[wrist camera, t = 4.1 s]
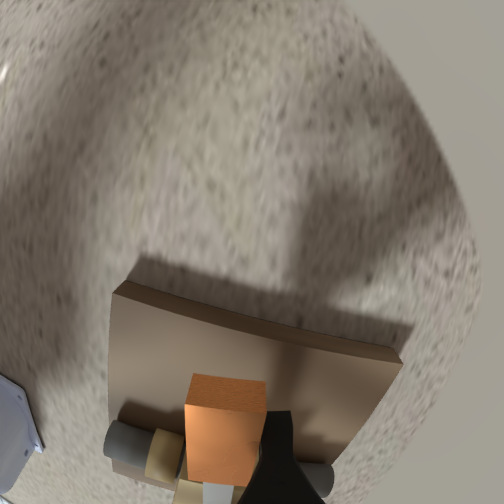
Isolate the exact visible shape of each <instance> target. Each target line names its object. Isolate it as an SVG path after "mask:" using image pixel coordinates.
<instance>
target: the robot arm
mask: <svg viewBox="0 0 504 504" xmlns="http://www.w3.org/2000/svg"><path fill="white" fill-rule="evenodd" d="M34 450H36V451H37V452H39V453H43V452H44V449H43V447H42V444H41V441H40V439H39V436H38V433H37V430H36V427H35V424H34V421H33V418H32V415H31V412H30V409H29V405H28V402H27V398H26V394H25V392H24V390H23V389H22V388H21V387H19V386H17V385H16V384H14V383H13V382H11V381H9V380H8V379H6V378H5V377H3V376H2V375H0V495H1V494H4V493H6V492H8V491H9V490H10V489H11V488H12V487H13V485H14V483H15V481H16V480H17V478H18V476H19V475H20V473H21V471H22V469H23V468H24V466H25V464H26V463H27V461H28V459H29V458H30V456H31V454H32V453H33V451H34ZM237 504H325V502H324V501H323V500H322V499H321V497H320V496H319V495H318V493H317V492H316V490H315V489H314V488H313V486H312V485H311V483H310V482H309V480H308V479H307V477H306V475H305V474H304V472H303V470H302V469H301V467H300V465H299V463H298V461H297V459H296V457H295V455H294V453H293V421H292V416H291V410H288V411H267V414H266V419H265V423H264V427H263V432H262V436H261V440H260V444H259V461H258V464H257V466H256V468H255V470H254V473H253V475H252V477H251V479H250V481H249V483H248V485H247V487H246V489H245V491H244V492H243V494H242V496H241V498H240V499H239V501H238V502H237Z"/></svg>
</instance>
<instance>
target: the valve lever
mask: <svg viewBox="0 0 504 504" xmlns="http://www.w3.org/2000/svg"><path fill="white" fill-rule="evenodd" d="M266 414H267V409H266V381H254V380H244V379H235V378H226V377H218V376H210V375H203V374H196V373H193V376H192V379H191V383H190V387H189V390H188V394H187V397H186V401H185V430H186V451H187V468H188V480H193V481H199V482H203V503H202V504H231V500H232V494H233V489H234V486H245V487H247V485H248V483H249V481H250V479H251V476H252V472H253V468H254V464H255V460H256V456H257V452H258V448H259V444H260V440H261V436H262V432H263V427H264V423H265V419H266Z"/></svg>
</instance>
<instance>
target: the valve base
mask: <svg viewBox="0 0 504 504" xmlns="http://www.w3.org/2000/svg"><path fill="white" fill-rule="evenodd" d="M402 366H403V362H402V361H401V359H400V358H399V356H398V355H397V353H396V352H395V350H394V348H390V347H384V346H379V345H374V344H368V343H363V342H358V341H353V340H348V339H343V338H339V337H334V336H329V335H325V334H320V333H316V332H311V331H307V330H302V329H298V328H294V327H289V326H285V325H281V324H277V323H273V322H269V321H265V320H261V319H257V318H253V317H249V316H245V315H241V314H238V313H234V312H230V311H226V310H223V309H219V308H216V307H212V306H208V305H205V304H201V303H198V302H194V301H191V300H187V299H184V298H181V297H177V296H174V295H171V294H167V293H164V292H161V291H158V290H154V289H151V288H148V287H145V286H142V285H139V284H135V283H132V282H129V281H126V280H125V281H124V282H123V283H122V284H121V285H120V286H119V287H118V288H117V289H116V290H115V291H114V292H113V293H112V301H111V314H110V330H109V353H108V408H109V429H108V431H107V434H106V437H105V442H104V449H103V452H104V455H105V456H107V457H110V458H112V467H113V472H116V473H118V474H121V475H124V476H127V477H129V478H132V479H135V480H138V481H141V482H145V483H148V484H151V485H154V486H158V487H161V488H165V489H169V490H173V491H175V494H174V499H173V503H172V504H202V503H203V482H199V481H193V480H188V468H187V451H186V430H185V401H186V397H187V394H188V390H189V387H190V383H191V379H192V376H193V373H196V374H203V375H210V376H218V377H226V378H235V379H244V380H254V381H266V409H267V411H288V410H291V416H292V421H293V453H294V455H295V457H296V459H297V461H298V463H299V465H300V467H301V469H302V470H303V472H304V474H305V475H306V477H307V479H308V480H309V482H310V483H311V485H312V486H313V488H314V489H315V490H316V492H317V493H318V495H319V496H320V497H321V498H325V497H327V496H328V495H329V494H330V492H331V490H332V488H333V484H334V470H333V468H332V466H331V465H332V464H333V462H334V461H335V460H336V459H337V458H338V457H339V455H340V454H341V453H342V452H343V451H344V449H345V448H346V447H347V446H348V444H349V443H350V442H351V440H352V439H353V438H354V437H355V435H356V434H357V433H358V431H359V430H360V429H361V427H362V426H363V425H364V423H365V422H366V421H367V419H368V418H369V416H370V415H371V414H372V412H373V411H374V409H375V408H376V407H377V405H378V404H379V402H380V401H381V399H382V398H383V396H384V395H385V393H386V392H387V390H388V389H389V387H390V386H391V384H392V382H393V381H394V379H395V378H396V376H397V374H398V373H399V371H400V369H401V368H402ZM258 461H259V448H258V452H257V456H256V460H255V464H254V468H253V472H252V475H253V473H254V470H255V468H256V466H257V464H258ZM251 477H252V476H251ZM245 489H246V487H245V486H234V489H233V494H232V500H231V504H237V502H238V501H239V499H240V498H241V496H242V494H243V492H244V491H245Z"/></svg>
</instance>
